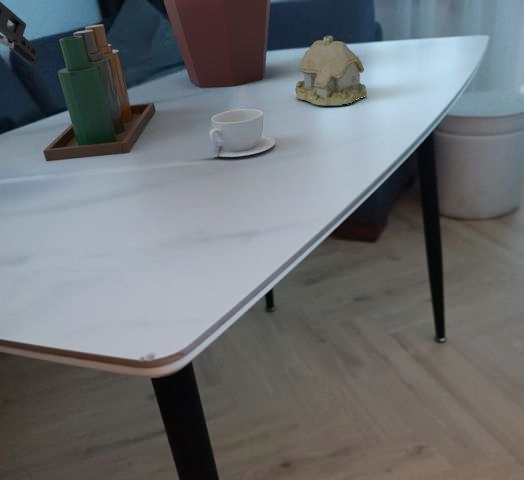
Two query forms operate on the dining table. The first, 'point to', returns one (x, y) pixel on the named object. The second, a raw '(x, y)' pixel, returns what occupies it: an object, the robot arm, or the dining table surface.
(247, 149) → the teacup
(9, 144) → the dining table surface
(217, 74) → the bucket
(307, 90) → the ceramic model
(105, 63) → the gray bottle
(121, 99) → the amber bottle
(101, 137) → the green bottle
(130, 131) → the tray
